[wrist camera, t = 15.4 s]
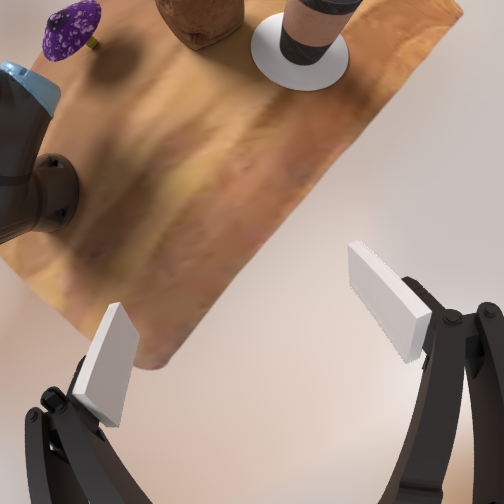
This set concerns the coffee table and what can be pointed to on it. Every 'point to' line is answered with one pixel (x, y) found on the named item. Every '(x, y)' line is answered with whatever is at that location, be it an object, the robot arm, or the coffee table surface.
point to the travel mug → (313, 28)
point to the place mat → (290, 73)
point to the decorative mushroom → (71, 30)
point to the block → (201, 19)
